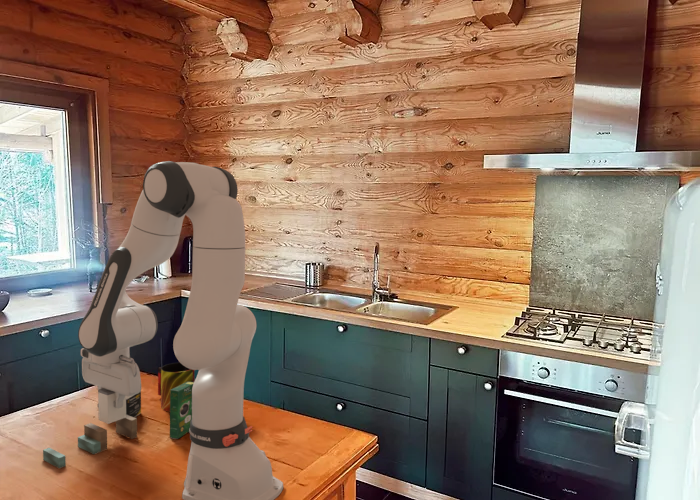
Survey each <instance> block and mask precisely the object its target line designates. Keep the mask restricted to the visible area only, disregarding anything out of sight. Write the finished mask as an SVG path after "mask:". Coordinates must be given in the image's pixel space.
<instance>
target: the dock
mask: <svg viewBox="0 0 700 500" xmlns="http://www.w3.org/2000/svg"><path fill="white" fill-rule="evenodd" d="M83 428H84V431H83V432H84V434H83V435H80V436H78V437H77V447H78V448H80V449H82V450H84V451H86V452H88V453H90V454H92V455H96V454H99V453H101V452H104V451H106V450H108V430H107V429H106V428H103V427H101V426H100V425H97V424H94V423H92V422H90V423H86V424H84V425H83ZM115 433H117V434H119V435H122V436H124V437H125V438H129V439H131V440H133V439H136V438H138V419H137V417H131V416H129V415H126V418H123V419H120V420H117V421H115ZM66 457H67V456H66V455H65V454H63V453H61V452H60V451H57V450H56V449H53V448H51V447H47V448H45V449H43V450H42V460H43V461H45V462H46V463H48V464H50V465H52V466H54V467H56V469H57V468H58V469H62V468H64V467H66V465H67V464H66V463H67V462H66V460H67V459H66Z"/></svg>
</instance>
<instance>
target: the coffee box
mask: <svg viewBox="0 0 700 500" xmlns="http://www.w3.org/2000/svg"><path fill="white" fill-rule="evenodd" d="M193 384H194V382H186V383H184V384H182V385H180V386H177V387H175V388H173V389H171V390H170V412H169V438H170V439H173V440H179V439H180V438H182V437H183V436H184V435H186V434H188V433H189V428H190V422H191V420H192V387H193Z"/></svg>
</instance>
